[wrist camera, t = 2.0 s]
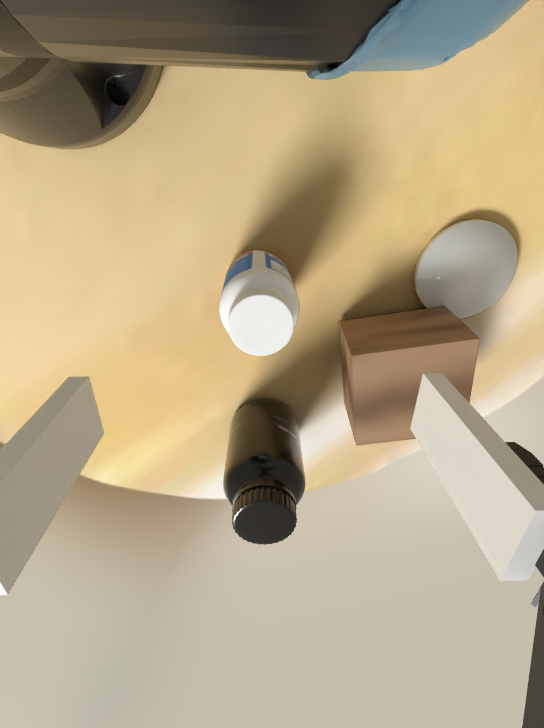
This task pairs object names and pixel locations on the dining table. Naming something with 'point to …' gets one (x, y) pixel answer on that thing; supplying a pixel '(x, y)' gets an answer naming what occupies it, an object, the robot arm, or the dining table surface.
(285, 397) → the dining table surface
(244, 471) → the supplement bottle
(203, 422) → the dining table surface
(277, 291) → the pill bottle
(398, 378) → the walnut block
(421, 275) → the grey coaster
